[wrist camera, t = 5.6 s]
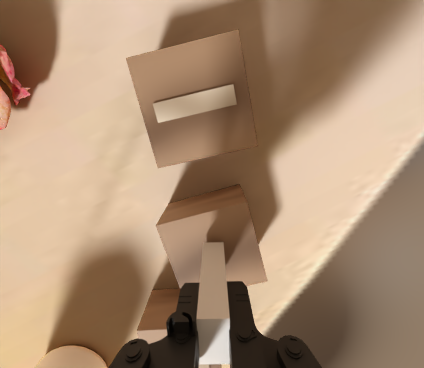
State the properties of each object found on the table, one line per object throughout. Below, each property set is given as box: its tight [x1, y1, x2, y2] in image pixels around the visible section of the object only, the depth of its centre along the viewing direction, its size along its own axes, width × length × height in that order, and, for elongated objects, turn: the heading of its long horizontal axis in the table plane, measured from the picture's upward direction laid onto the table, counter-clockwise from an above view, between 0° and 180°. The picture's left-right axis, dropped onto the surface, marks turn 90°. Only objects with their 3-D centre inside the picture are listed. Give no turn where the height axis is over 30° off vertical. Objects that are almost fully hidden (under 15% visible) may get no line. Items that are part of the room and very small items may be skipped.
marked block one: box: [126, 29, 258, 168], centre depth 16 cm, size 7×7×5 cm
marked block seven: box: [137, 288, 221, 368], centre depth 22 cm, size 7×7×5 cm
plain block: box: [156, 185, 267, 289], centre depth 19 cm, size 7×7×5 cm
